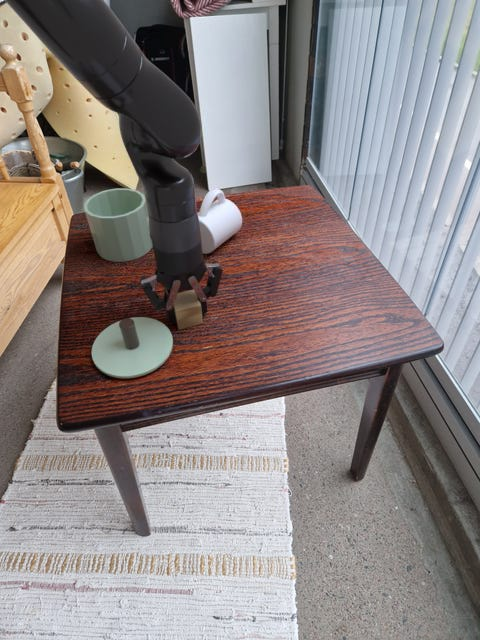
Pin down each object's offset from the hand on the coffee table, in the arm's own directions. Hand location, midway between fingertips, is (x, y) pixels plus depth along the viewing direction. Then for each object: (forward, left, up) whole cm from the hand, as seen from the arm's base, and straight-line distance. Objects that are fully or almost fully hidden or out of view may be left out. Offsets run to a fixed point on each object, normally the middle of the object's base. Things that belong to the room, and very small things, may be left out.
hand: (187, 317), depth 76 cm
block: (0, 0, 0) cm, 0 cm away
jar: (-7, +28, 0) cm, 29 cm away
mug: (+12, +22, -1) cm, 25 cm away
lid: (-10, -4, 0) cm, 11 cm away
